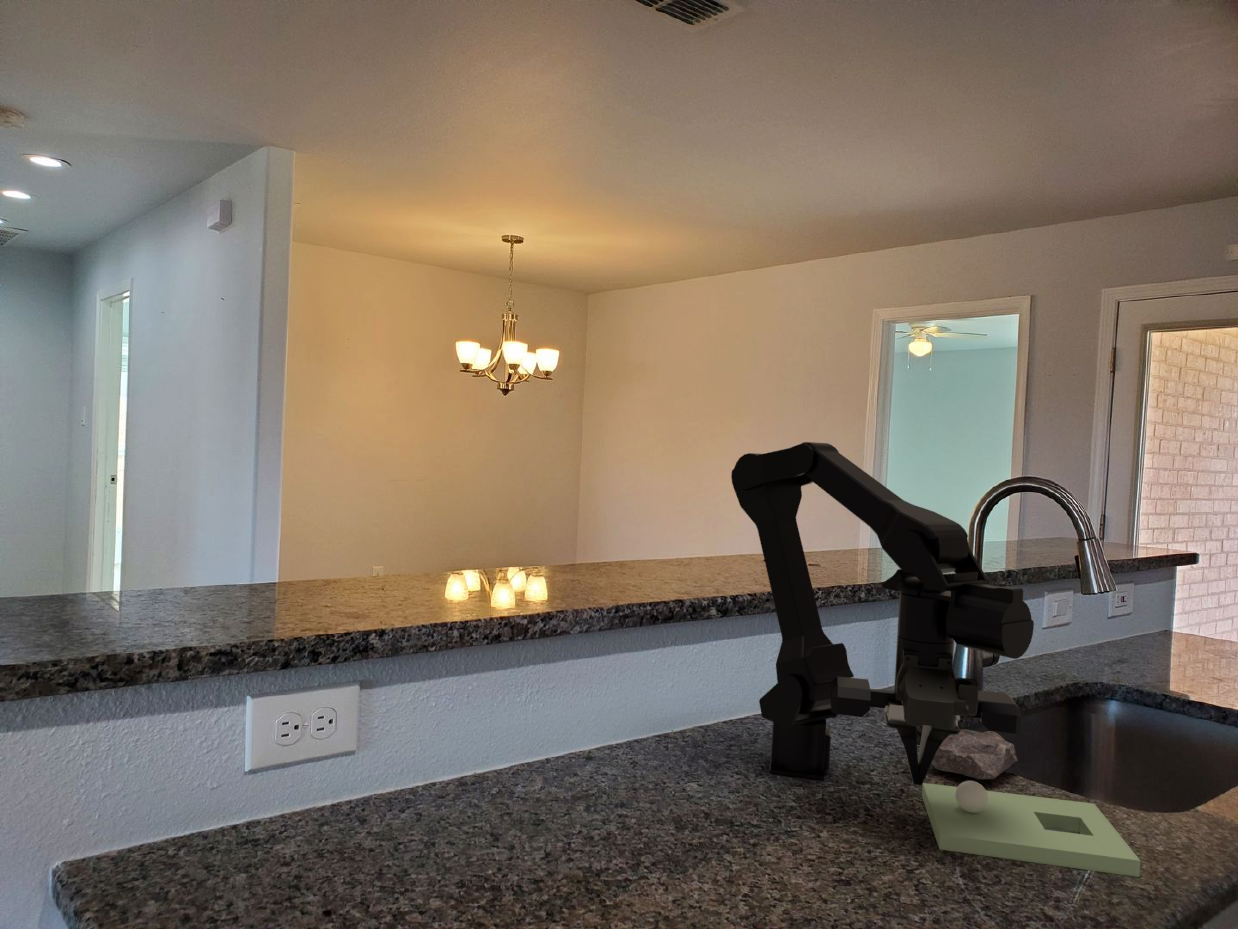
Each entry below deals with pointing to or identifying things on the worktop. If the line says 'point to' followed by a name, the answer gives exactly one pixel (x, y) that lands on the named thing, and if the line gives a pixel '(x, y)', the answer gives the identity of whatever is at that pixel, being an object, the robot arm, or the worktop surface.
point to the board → (1030, 831)
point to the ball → (971, 796)
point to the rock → (975, 754)
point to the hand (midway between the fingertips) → (917, 784)
